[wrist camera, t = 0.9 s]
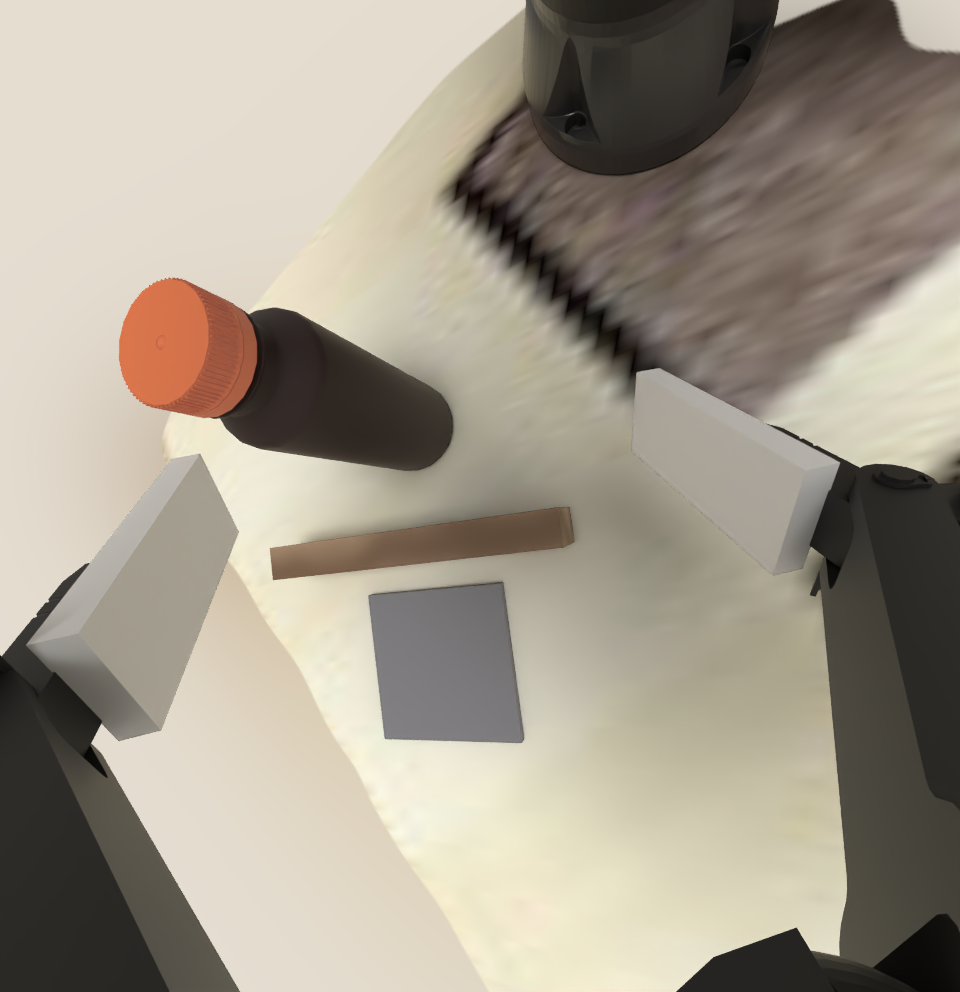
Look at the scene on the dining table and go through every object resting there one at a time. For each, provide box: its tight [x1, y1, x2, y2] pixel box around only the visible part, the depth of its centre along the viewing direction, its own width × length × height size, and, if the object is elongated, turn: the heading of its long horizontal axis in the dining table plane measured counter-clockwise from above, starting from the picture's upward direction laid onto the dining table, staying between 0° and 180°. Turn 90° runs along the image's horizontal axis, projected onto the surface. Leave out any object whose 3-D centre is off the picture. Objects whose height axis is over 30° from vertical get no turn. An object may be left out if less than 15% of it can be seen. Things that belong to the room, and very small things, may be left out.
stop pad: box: [368, 583, 524, 743], centre depth 34 cm, size 11×11×1 cm
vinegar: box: [119, 278, 452, 471], centre depth 27 cm, size 7×7×20 cm
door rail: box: [270, 507, 574, 580], centre depth 33 cm, size 2×22×4 cm, turn 98°
